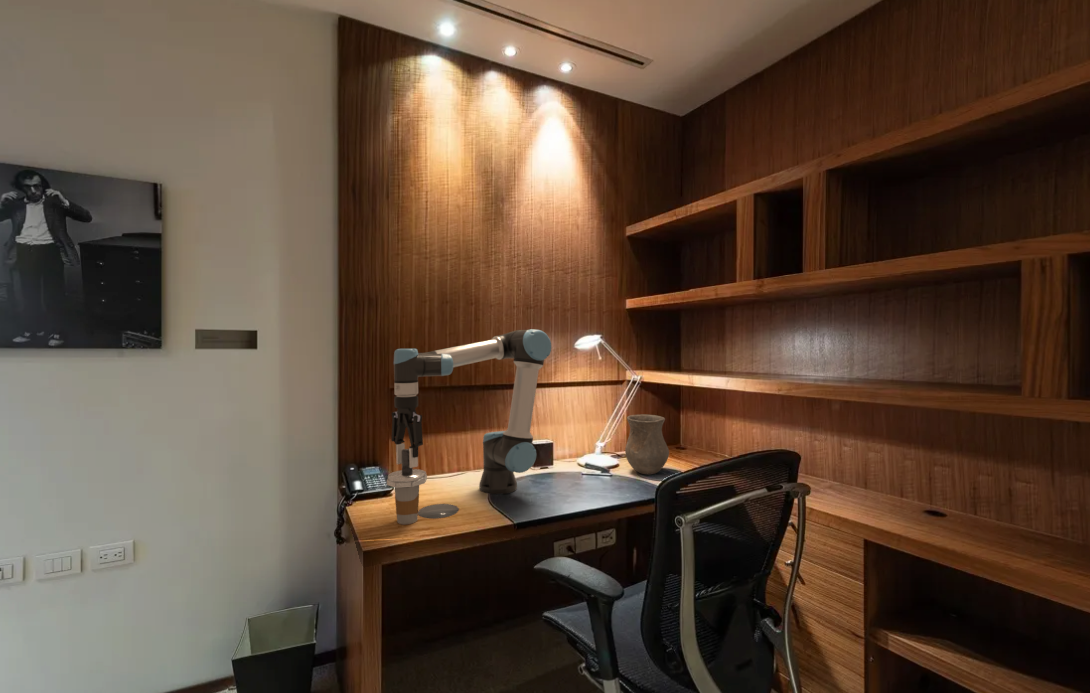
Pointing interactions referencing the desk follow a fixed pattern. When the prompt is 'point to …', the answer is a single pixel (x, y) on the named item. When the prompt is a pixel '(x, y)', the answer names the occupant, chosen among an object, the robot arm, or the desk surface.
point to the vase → (646, 444)
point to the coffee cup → (407, 504)
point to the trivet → (438, 511)
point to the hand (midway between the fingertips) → (407, 465)
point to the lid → (406, 474)
